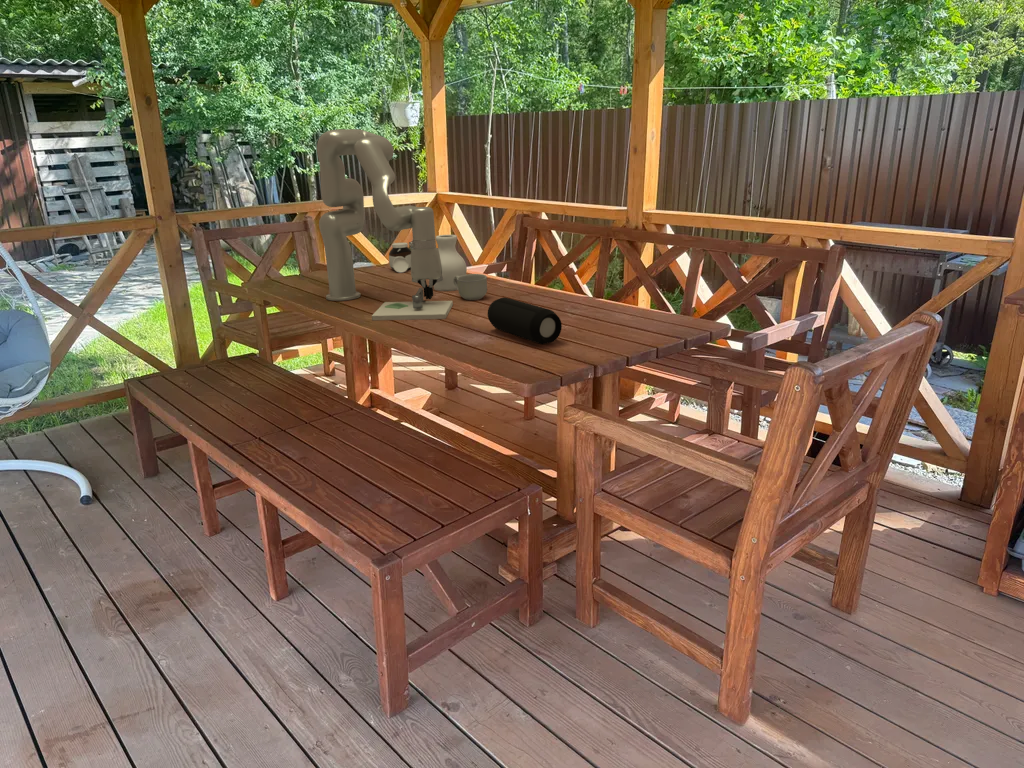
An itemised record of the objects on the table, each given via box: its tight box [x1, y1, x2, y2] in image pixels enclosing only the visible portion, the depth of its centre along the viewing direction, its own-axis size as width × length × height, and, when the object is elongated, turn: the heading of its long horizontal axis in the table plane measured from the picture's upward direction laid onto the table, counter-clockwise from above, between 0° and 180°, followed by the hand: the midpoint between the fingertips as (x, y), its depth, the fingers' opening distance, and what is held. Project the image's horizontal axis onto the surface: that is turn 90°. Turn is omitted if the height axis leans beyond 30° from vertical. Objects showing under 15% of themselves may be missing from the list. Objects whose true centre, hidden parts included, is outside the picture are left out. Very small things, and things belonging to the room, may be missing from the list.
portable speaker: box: [487, 297, 563, 345], centre depth 211 cm, size 26×10×10 cm, turn 35°
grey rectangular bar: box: [411, 287, 425, 309], centre depth 247 cm, size 15×3×4 cm, turn 1°
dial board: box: [371, 299, 454, 321], centre depth 245 cm, size 20×24×2 cm
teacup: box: [454, 273, 488, 301], centre depth 263 cm, size 14×11×8 cm
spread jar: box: [388, 242, 412, 274], centre depth 320 cm, size 12×11×12 cm
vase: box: [433, 234, 468, 292], centre depth 280 cm, size 14×14×20 cm
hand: (428, 298), depth 250 cm, fingers closed
